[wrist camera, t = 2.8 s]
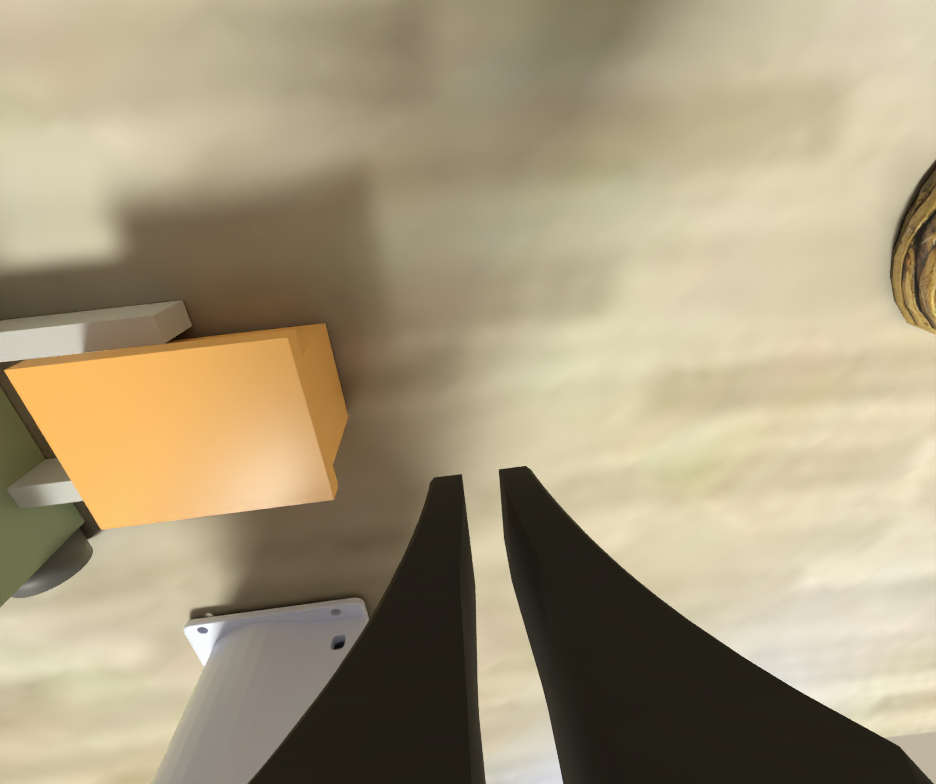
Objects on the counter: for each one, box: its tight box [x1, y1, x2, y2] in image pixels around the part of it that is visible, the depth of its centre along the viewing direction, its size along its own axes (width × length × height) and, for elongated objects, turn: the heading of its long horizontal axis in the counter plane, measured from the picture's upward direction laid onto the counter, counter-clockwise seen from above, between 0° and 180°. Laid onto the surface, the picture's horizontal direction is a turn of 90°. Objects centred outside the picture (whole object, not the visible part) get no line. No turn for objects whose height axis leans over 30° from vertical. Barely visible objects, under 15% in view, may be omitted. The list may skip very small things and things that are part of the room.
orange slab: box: [4, 323, 348, 530], centre depth 16 cm, size 8×6×4 cm
